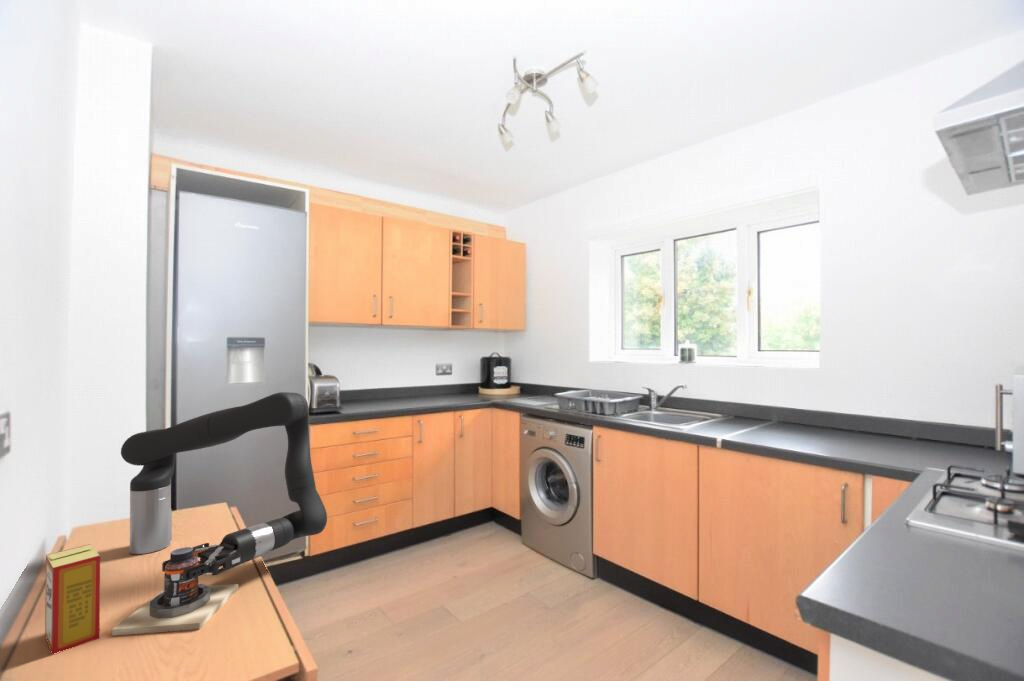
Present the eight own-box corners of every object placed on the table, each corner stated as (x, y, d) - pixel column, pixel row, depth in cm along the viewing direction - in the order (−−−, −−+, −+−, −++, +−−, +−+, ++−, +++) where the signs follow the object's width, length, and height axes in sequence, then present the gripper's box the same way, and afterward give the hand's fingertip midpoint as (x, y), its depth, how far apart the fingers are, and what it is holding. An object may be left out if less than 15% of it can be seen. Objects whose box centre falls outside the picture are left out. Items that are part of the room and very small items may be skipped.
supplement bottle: (180, 613, 96) (180, 557, 97) (156, 610, 98) (156, 555, 98) (204, 598, 102) (204, 545, 103) (182, 596, 103) (182, 544, 104)
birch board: (164, 594, 107) (164, 588, 107) (238, 589, 109) (238, 583, 109) (112, 635, 91) (112, 629, 91) (199, 629, 93) (199, 623, 93)
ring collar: (169, 594, 104) (169, 585, 105) (219, 590, 106) (219, 582, 106) (137, 620, 94) (137, 611, 94) (192, 616, 95) (192, 607, 95)
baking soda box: (99, 637, 90) (100, 553, 91) (52, 655, 85) (53, 566, 86) (89, 621, 96) (90, 542, 97) (45, 636, 91) (46, 553, 92)
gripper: (231, 523, 117) (156, 547, 102) (266, 533, 110) (191, 560, 95) (231, 554, 116) (156, 582, 102) (266, 565, 109) (191, 597, 95)
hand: (173, 571), depth 99 cm, fingers open, 8 cm apart
